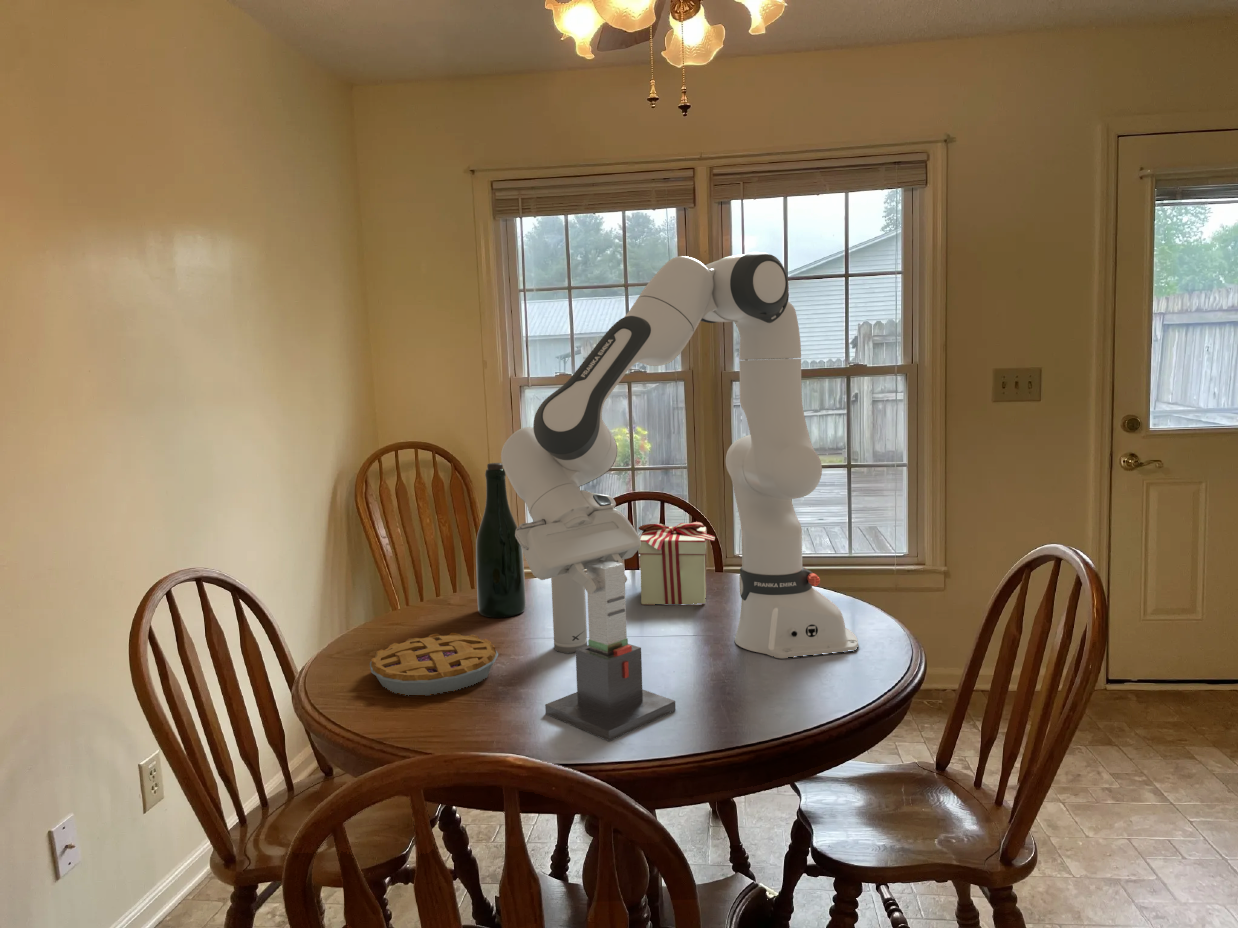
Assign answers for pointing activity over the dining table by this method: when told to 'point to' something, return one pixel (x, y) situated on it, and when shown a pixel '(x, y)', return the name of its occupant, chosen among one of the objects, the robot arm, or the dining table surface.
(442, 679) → the pie
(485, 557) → the green wine bottle
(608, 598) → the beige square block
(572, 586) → the travel mug
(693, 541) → the gift box
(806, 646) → the robot arm
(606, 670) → the grey square socket stand
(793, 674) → the dining table surface
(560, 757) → the dining table surface
